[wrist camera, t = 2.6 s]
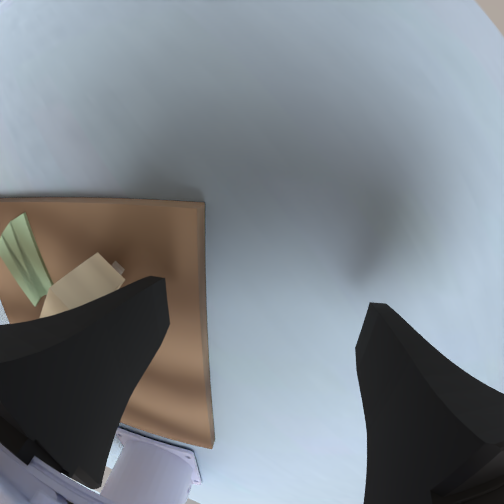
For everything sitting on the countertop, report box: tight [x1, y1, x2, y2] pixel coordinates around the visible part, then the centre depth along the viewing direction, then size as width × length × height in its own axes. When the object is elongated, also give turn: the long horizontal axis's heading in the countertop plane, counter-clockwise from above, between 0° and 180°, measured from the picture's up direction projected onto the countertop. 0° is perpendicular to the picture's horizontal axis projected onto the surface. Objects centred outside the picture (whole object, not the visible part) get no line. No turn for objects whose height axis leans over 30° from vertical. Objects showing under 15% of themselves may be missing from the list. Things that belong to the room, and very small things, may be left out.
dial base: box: [0, 197, 215, 449], centre depth 16 cm, size 18×18×1 cm
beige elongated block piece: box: [40, 252, 125, 318], centre depth 12 cm, size 12×5×4 cm, turn 137°
